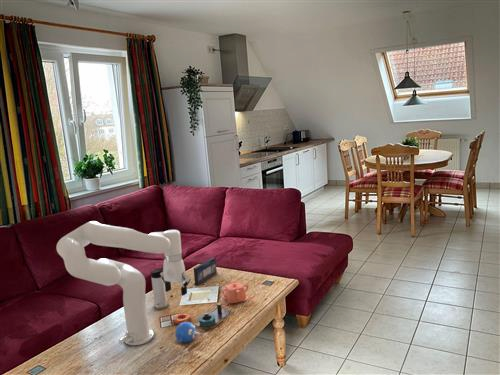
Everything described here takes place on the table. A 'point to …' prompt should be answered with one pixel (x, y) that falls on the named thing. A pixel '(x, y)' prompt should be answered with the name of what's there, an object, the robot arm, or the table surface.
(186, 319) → the orange octagonal ring
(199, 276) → the vhs cassette tape
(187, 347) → the table surface
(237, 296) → the teapot
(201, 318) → the teal faceted ring
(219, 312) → the stand
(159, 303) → the travel mug
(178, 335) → the toy whale
